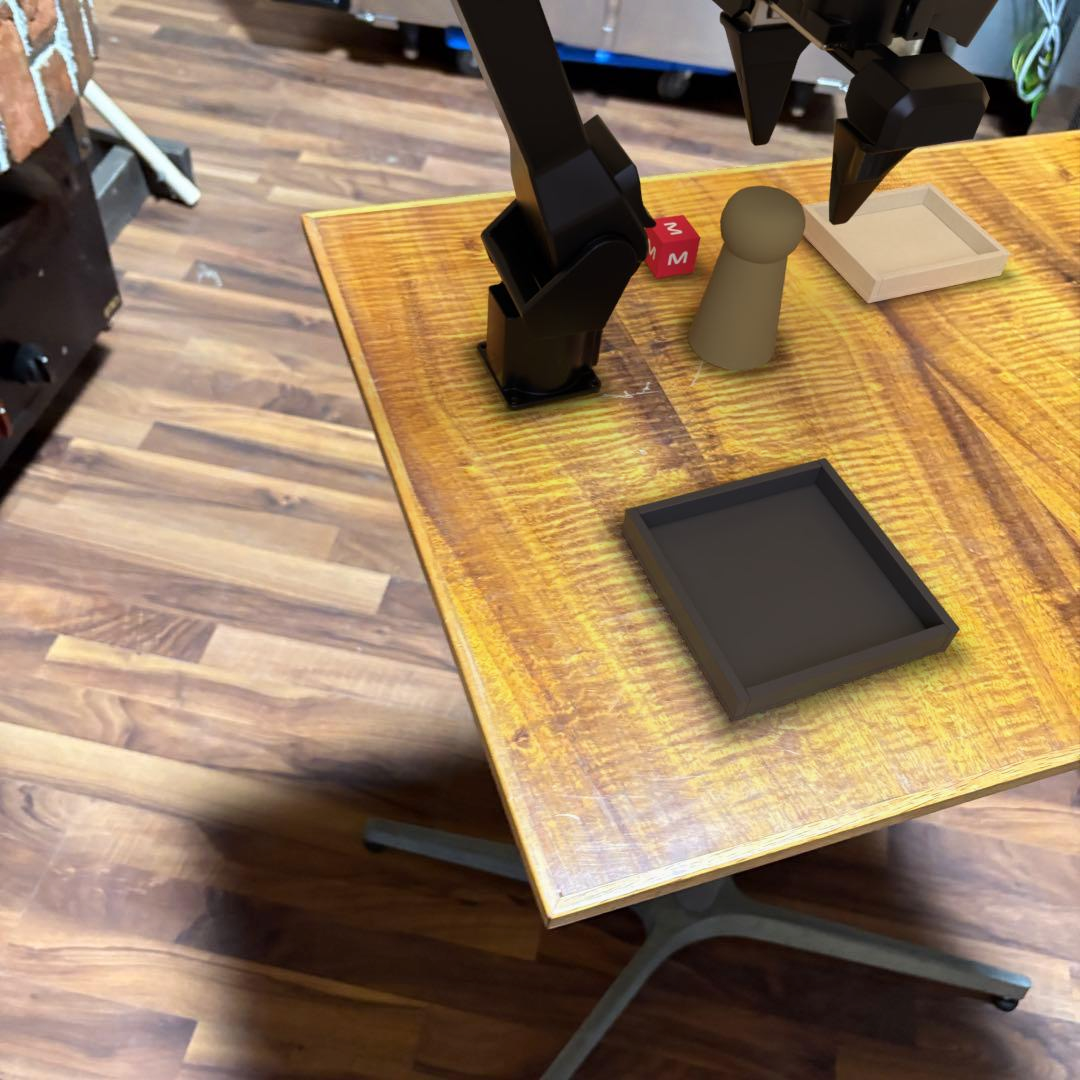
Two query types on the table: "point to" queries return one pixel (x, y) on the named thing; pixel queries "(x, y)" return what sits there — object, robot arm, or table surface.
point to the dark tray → (784, 586)
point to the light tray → (905, 243)
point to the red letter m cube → (672, 246)
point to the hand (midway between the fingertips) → (797, 181)
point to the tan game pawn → (747, 279)
